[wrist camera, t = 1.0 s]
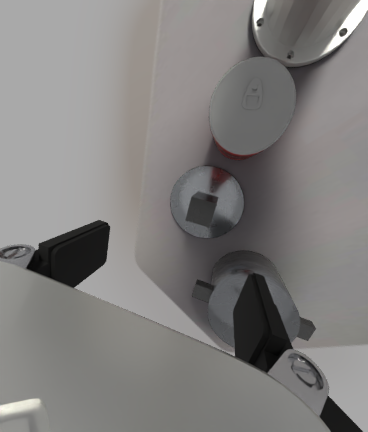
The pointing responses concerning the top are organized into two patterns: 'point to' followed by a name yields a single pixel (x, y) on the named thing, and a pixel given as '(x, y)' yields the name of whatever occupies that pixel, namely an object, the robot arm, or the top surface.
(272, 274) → the pot
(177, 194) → the lid
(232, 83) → the canned food
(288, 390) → the robot arm
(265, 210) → the top surface
